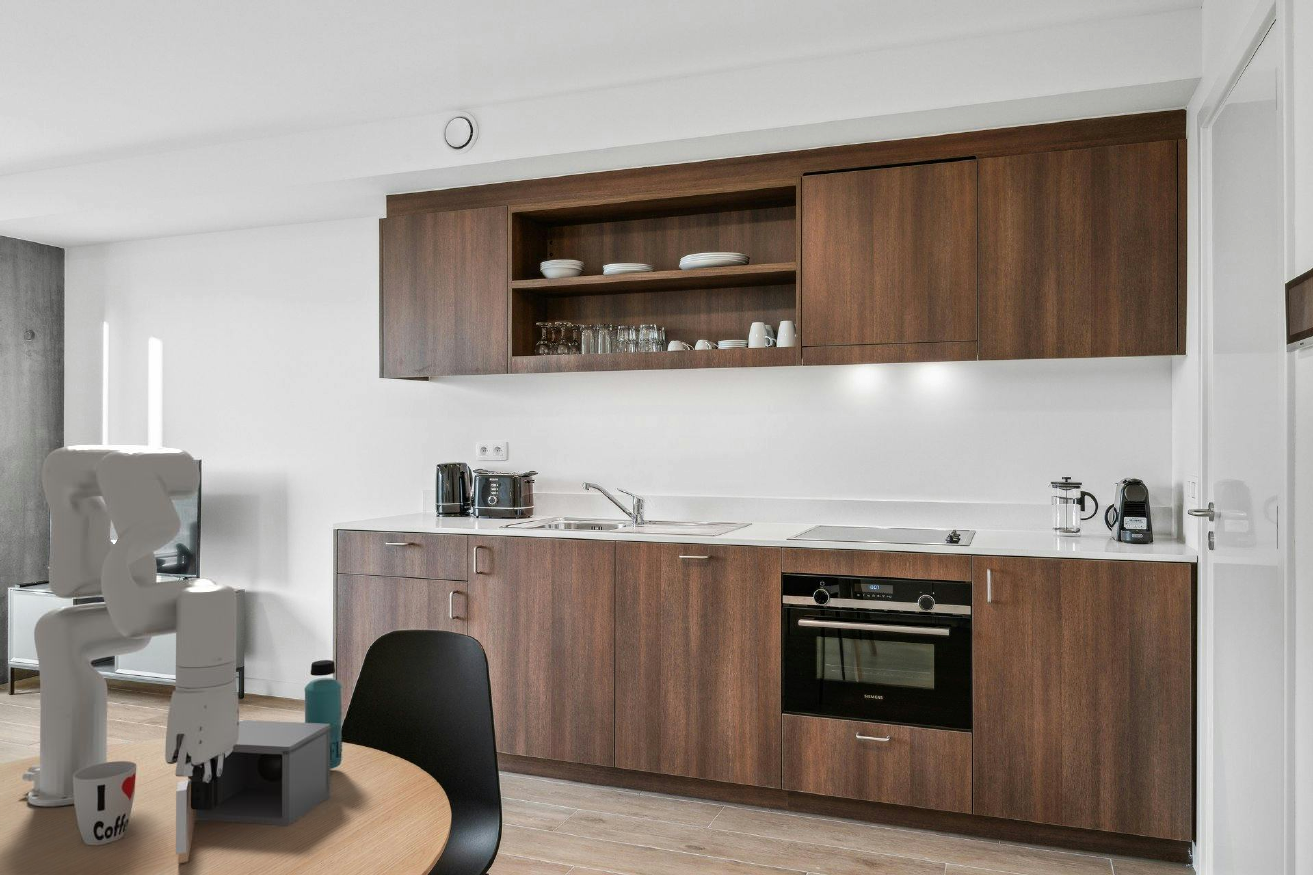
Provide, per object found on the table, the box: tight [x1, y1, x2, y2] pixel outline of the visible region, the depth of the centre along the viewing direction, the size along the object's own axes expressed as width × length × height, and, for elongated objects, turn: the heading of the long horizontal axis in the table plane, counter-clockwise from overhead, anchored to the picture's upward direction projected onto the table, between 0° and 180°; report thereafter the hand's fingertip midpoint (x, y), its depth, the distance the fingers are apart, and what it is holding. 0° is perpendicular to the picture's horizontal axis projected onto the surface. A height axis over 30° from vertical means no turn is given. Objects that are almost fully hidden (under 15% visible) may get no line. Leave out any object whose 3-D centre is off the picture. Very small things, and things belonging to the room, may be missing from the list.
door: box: [175, 777, 196, 864], centre depth 129 cm, size 21×1×11 cm, turn 24°
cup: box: [73, 760, 137, 846], centre depth 132 cm, size 8×8×10 cm
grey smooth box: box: [195, 719, 331, 826], centre depth 143 cm, size 16×12×12 cm
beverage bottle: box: [304, 659, 343, 770], centre depth 159 cm, size 6×7×20 cm
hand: (204, 807), depth 123 cm, fingers closed
